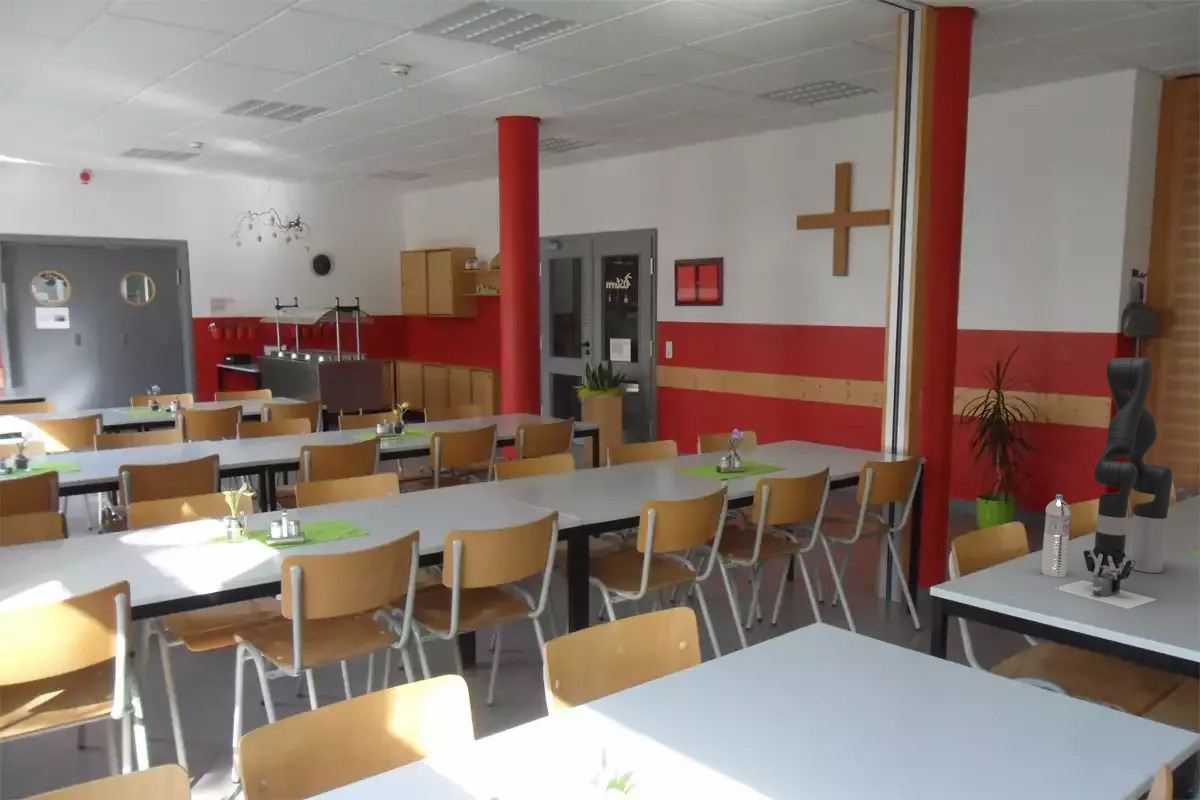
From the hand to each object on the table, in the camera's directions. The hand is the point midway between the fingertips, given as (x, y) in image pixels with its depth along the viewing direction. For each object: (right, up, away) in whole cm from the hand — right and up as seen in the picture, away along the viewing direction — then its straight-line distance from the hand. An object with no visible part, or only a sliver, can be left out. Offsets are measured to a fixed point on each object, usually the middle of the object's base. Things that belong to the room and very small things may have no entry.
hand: (1106, 589), depth 262 cm
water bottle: (-6, 0, +19) cm, 20 cm away
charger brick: (0, -1, 0) cm, 1 cm away
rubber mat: (-1, -2, 0) cm, 2 cm away
